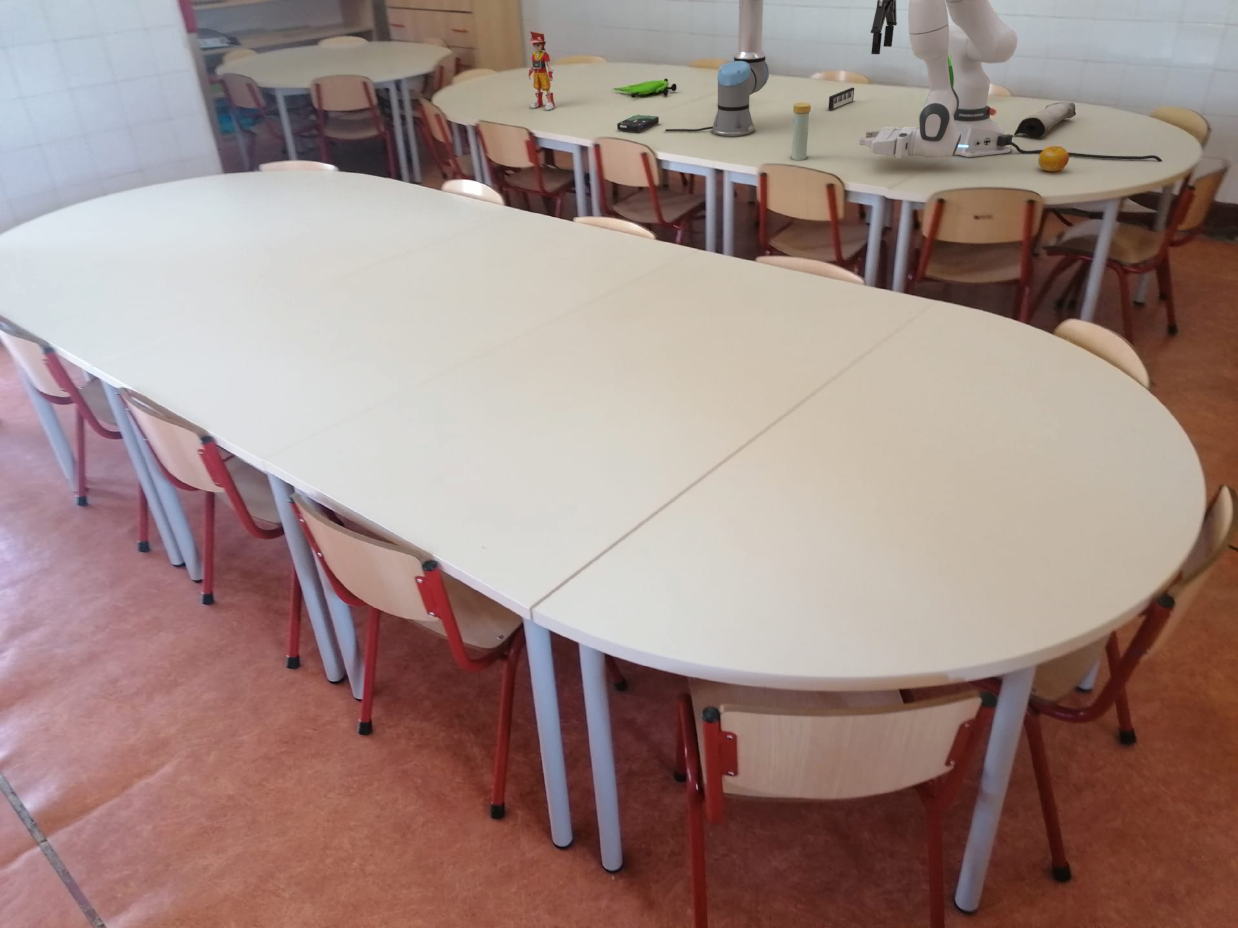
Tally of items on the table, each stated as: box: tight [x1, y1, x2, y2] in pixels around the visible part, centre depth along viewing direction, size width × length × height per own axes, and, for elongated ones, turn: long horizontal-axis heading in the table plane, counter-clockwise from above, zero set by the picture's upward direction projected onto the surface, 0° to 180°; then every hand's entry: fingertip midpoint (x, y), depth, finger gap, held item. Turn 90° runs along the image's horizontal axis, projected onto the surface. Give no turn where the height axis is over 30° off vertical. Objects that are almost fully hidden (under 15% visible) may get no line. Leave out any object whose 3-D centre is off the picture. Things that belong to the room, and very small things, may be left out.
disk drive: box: [616, 114, 660, 133], centre depth 347 cm, size 10×3×15 cm
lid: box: [792, 102, 812, 113], centre depth 296 cm, size 6×6×2 cm
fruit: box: [1037, 145, 1070, 172], centre depth 278 cm, size 8×8×8 cm
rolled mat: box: [1013, 101, 1077, 140], centre depth 317 cm, size 30×9×10 cm
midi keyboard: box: [827, 87, 855, 111], centre depth 358 cm, size 18×1×5 cm, turn 138°
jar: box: [791, 111, 810, 161], centre depth 300 cm, size 5×5×17 cm
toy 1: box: [527, 31, 556, 111], centre depth 374 cm, size 12×9×30 cm
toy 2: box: [612, 78, 677, 99], centre depth 396 cm, size 28×5×30 cm
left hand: (881, 50), depth 308 cm, fingers open, 13 cm apart
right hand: (863, 138), depth 292 cm, fingers open, 8 cm apart
